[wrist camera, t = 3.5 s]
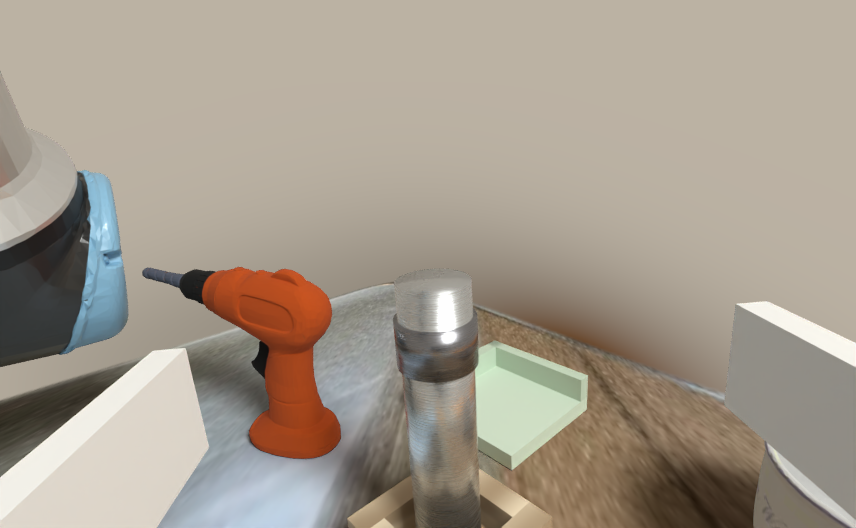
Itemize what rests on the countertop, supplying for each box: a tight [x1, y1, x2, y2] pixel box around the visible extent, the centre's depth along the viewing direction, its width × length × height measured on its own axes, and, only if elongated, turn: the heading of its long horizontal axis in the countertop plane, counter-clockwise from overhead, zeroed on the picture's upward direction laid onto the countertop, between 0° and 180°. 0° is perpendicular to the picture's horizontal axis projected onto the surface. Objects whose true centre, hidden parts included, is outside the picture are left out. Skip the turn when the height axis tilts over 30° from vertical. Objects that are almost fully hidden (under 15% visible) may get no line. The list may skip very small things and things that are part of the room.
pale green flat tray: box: [475, 341, 588, 470], centre depth 39 cm, size 10×10×3 cm
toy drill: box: [142, 267, 341, 459], centre depth 38 cm, size 5×19×15 cm, turn 68°
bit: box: [393, 269, 481, 528], centre depth 24 cm, size 4×4×16 cm
